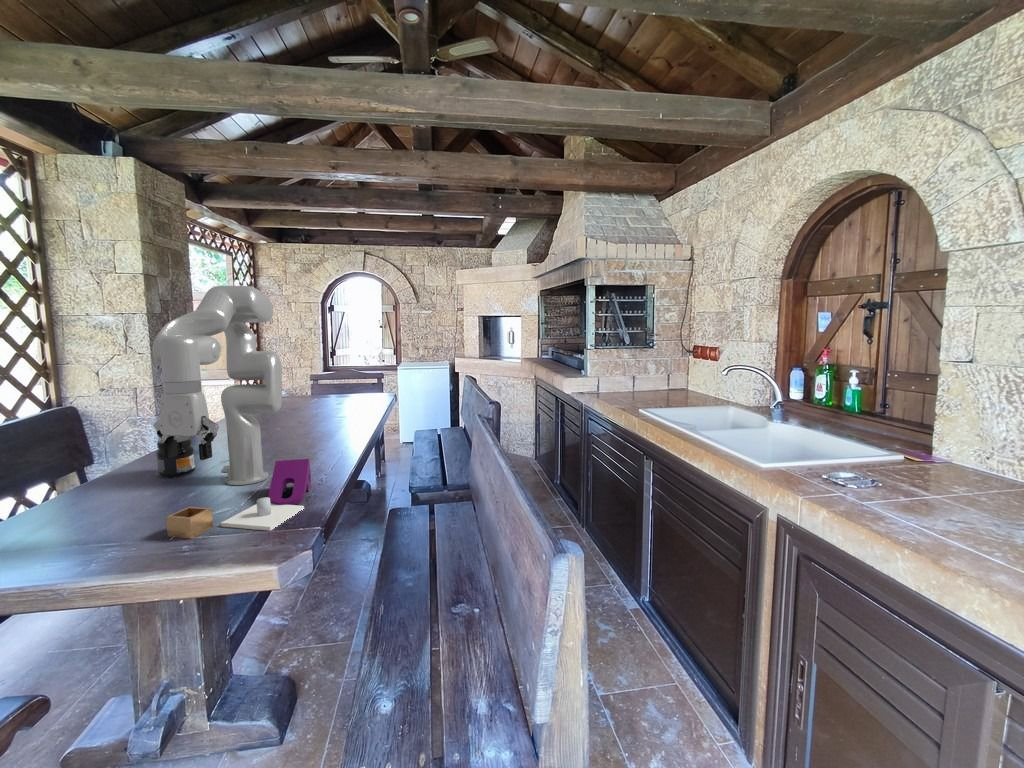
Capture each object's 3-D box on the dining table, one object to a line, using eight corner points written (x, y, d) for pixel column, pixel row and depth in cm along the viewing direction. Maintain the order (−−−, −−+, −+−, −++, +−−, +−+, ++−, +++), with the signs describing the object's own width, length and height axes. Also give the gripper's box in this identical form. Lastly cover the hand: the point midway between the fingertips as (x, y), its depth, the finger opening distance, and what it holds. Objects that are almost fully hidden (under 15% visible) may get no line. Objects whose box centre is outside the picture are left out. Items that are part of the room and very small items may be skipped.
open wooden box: (168, 536, 116) (166, 516, 115) (190, 525, 122) (189, 506, 121) (191, 538, 114) (189, 518, 114) (213, 527, 121) (211, 508, 120)
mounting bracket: (306, 521, 139) (311, 478, 153) (302, 501, 134) (308, 458, 149) (270, 525, 136) (279, 481, 151) (265, 504, 132) (275, 460, 146)
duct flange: (221, 526, 121) (219, 507, 121) (259, 505, 135) (258, 488, 134) (270, 530, 119) (269, 511, 118) (304, 509, 132) (303, 492, 132)
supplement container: (202, 472, 166) (199, 438, 164) (169, 480, 157) (165, 445, 155) (184, 467, 171) (182, 435, 169) (151, 476, 162) (148, 441, 160)
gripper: (137, 389, 112) (144, 460, 114) (201, 391, 109) (207, 463, 111) (165, 385, 119) (171, 452, 121) (226, 387, 116) (231, 455, 118)
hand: (188, 457), depth 116 cm, fingers open, 9 cm apart
